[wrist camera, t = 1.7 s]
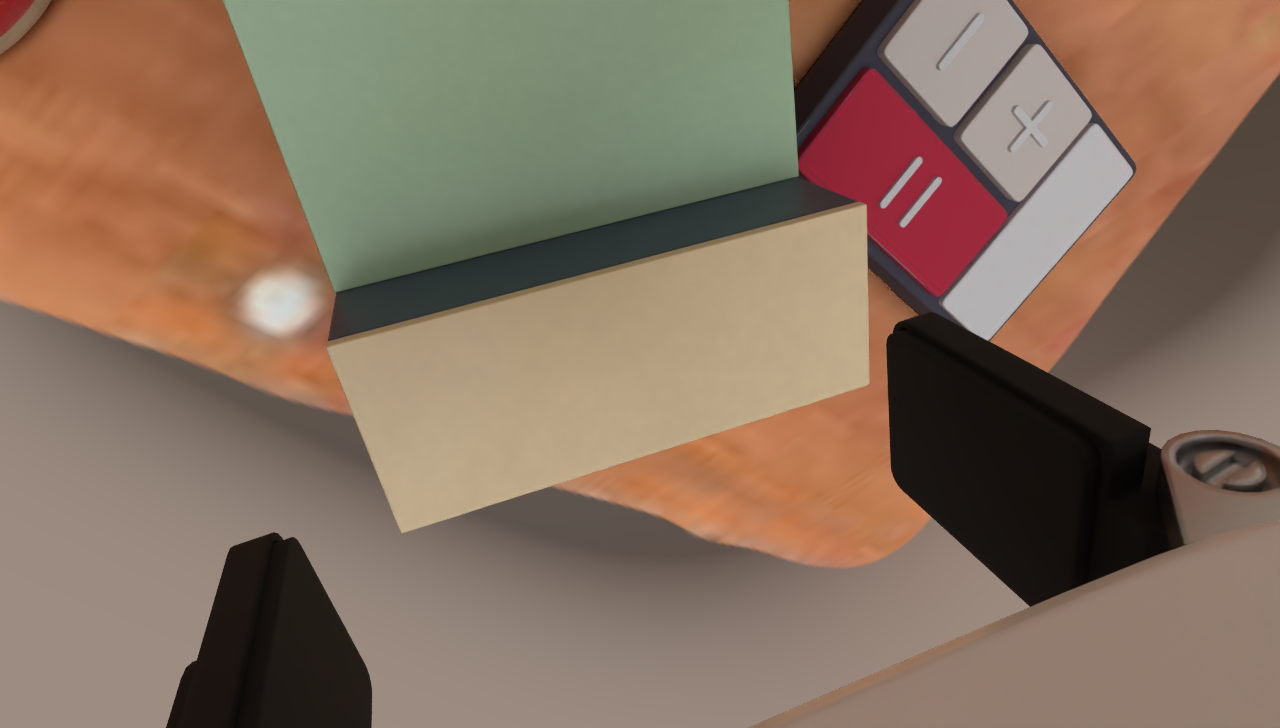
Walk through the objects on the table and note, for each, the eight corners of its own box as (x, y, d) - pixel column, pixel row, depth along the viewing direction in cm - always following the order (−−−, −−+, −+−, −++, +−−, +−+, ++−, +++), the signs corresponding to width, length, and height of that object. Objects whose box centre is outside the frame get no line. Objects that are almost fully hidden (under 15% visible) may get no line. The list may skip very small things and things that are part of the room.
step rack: (135, -365, 20) (-119, -745, 10) (646, -406, 23) (853, -735, 13) (396, 360, 31) (401, 534, 21) (723, 271, 34) (870, 385, 24)
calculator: (971, -79, 27) (1156, 171, 34) (903, -64, 31) (1081, 158, 37) (778, 169, 29) (990, 361, 35) (737, 154, 33) (935, 329, 39)
